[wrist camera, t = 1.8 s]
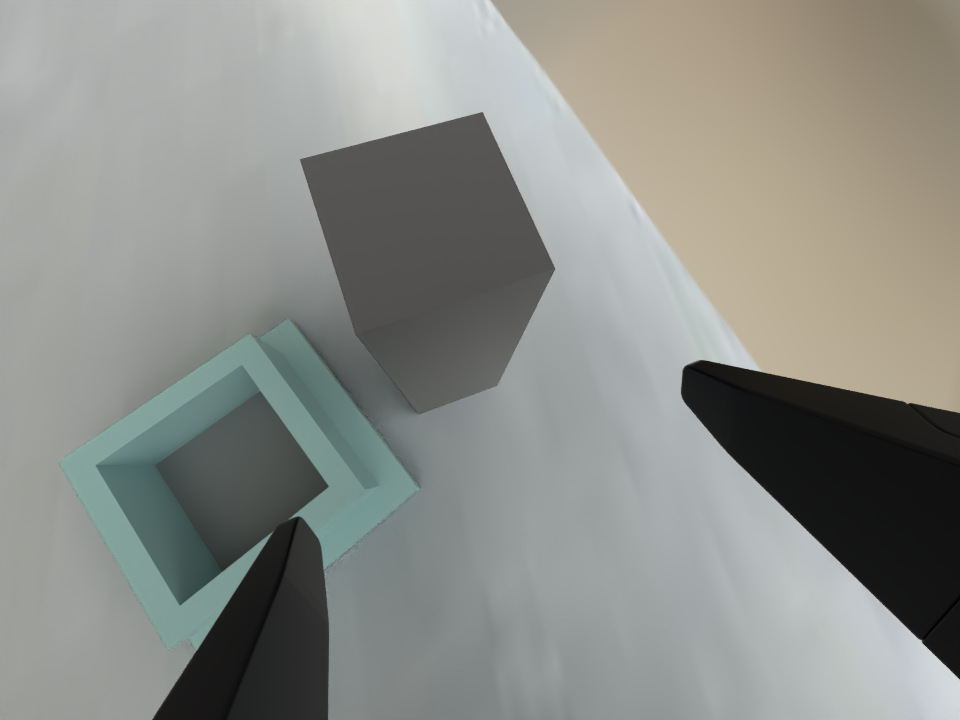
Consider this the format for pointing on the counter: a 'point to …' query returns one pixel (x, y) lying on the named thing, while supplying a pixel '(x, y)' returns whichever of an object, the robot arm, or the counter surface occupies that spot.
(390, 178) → the plug
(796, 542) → the counter surface
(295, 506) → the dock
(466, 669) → the counter surface
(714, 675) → the counter surface
